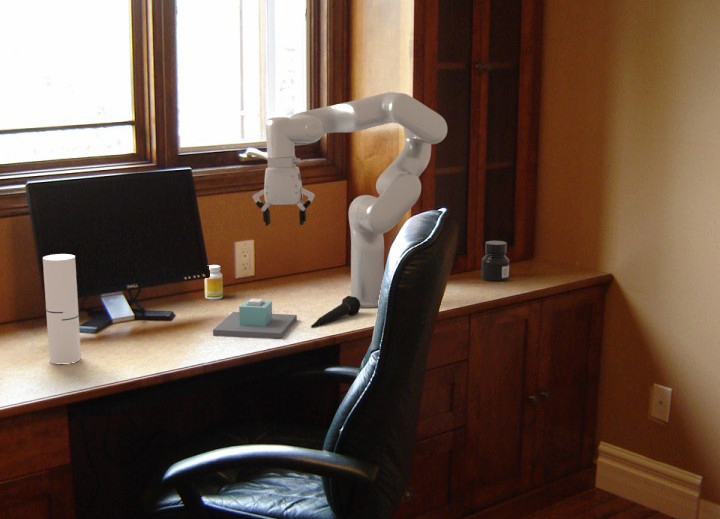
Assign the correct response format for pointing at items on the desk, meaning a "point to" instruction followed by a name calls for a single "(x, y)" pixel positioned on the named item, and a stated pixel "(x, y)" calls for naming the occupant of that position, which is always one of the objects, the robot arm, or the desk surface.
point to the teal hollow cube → (255, 314)
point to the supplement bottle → (214, 283)
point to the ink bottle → (495, 262)
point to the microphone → (340, 311)
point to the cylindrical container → (62, 308)
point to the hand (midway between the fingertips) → (285, 224)
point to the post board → (271, 330)
